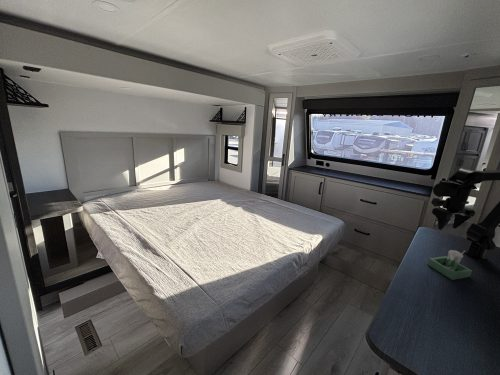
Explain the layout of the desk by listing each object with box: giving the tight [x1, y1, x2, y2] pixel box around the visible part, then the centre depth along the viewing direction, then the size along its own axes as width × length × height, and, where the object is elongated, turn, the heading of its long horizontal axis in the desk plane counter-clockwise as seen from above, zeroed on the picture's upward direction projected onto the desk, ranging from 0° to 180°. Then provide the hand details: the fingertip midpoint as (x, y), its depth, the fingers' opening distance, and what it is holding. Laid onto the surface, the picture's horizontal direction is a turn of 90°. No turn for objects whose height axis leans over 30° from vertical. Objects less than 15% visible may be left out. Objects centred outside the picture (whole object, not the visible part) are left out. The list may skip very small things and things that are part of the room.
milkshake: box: [444, 249, 466, 272], centre depth 92 cm, size 4×5×10 cm
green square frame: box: [426, 255, 473, 281], centre depth 93 cm, size 10×10×3 cm
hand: (446, 228), depth 102 cm, fingers open, 9 cm apart
